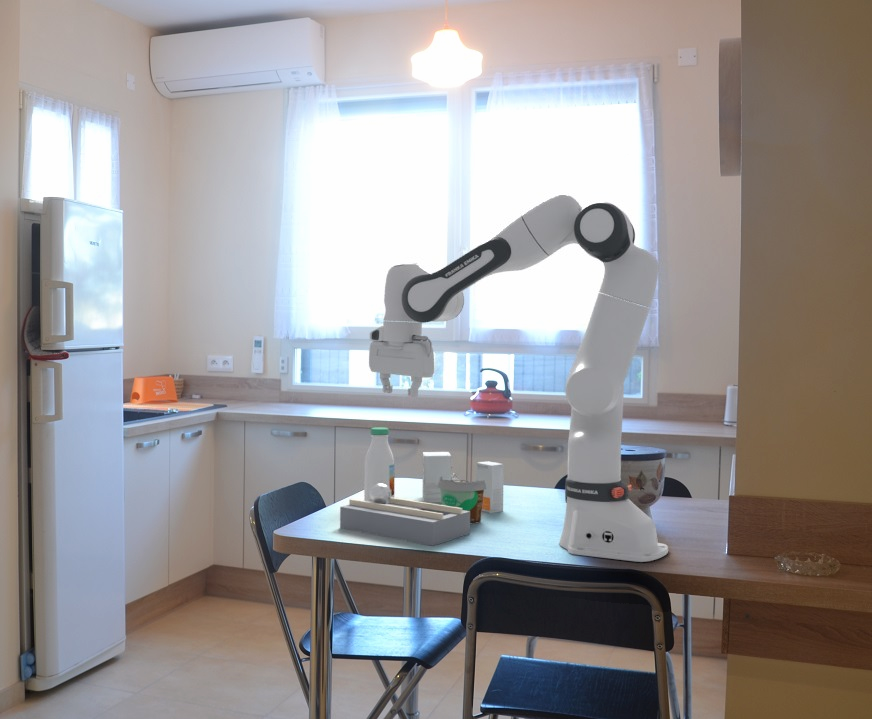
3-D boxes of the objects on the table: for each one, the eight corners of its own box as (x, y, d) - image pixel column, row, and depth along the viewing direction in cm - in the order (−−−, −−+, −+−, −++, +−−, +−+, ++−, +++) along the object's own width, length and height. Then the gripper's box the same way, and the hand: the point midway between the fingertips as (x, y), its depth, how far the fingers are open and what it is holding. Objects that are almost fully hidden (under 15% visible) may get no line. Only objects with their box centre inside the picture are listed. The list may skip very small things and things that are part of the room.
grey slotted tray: (470, 533, 193) (470, 505, 193) (432, 546, 182) (433, 516, 181) (379, 518, 208) (379, 492, 208) (340, 528, 197) (340, 501, 197)
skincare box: (475, 509, 219) (475, 462, 219) (488, 507, 222) (488, 460, 222) (491, 513, 214) (491, 465, 214) (504, 511, 217) (504, 463, 217)
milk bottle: (383, 509, 218) (383, 430, 218) (358, 506, 222) (358, 428, 222) (400, 504, 225) (400, 427, 224) (375, 501, 229) (376, 425, 228)
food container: (427, 521, 205) (428, 479, 204) (439, 516, 210) (440, 475, 210) (475, 527, 199) (475, 484, 199) (486, 522, 204) (486, 480, 204)
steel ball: (395, 504, 199) (395, 483, 199) (381, 508, 195) (382, 486, 195) (379, 502, 202) (379, 480, 202) (365, 505, 198) (365, 483, 198)
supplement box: (449, 498, 234) (449, 451, 234) (451, 503, 227) (451, 455, 226) (422, 498, 234) (422, 451, 233) (423, 503, 226) (423, 455, 226)
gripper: (442, 336, 193) (439, 398, 193) (386, 333, 208) (384, 390, 209) (420, 335, 189) (417, 399, 189) (365, 332, 204) (363, 391, 205)
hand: (399, 394), depth 199 cm, fingers open, 8 cm apart
